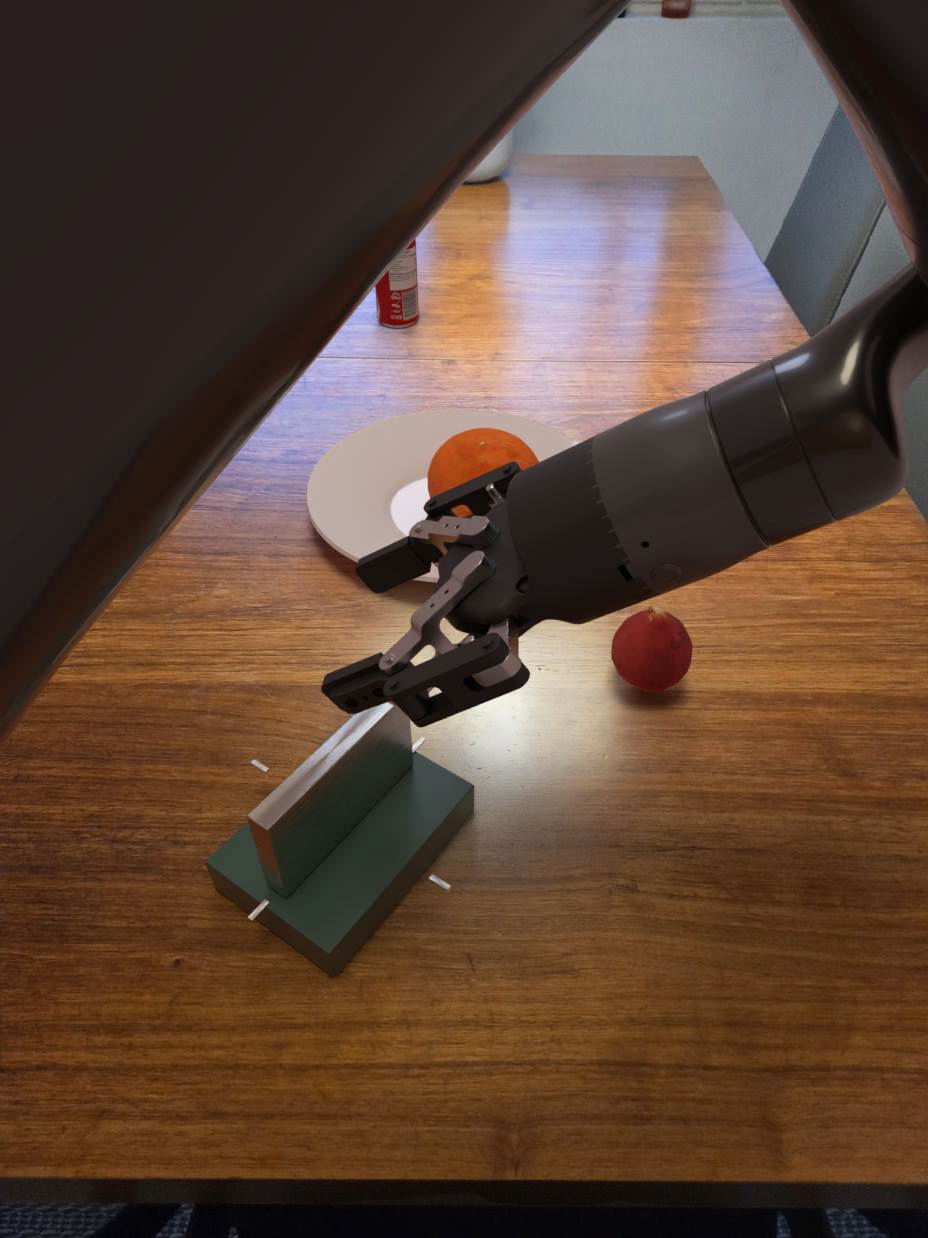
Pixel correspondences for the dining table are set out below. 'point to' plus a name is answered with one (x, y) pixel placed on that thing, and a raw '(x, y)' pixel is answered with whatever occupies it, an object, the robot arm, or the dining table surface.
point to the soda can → (399, 292)
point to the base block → (352, 866)
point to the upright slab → (330, 794)
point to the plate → (414, 471)
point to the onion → (652, 650)
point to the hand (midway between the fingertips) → (349, 633)
